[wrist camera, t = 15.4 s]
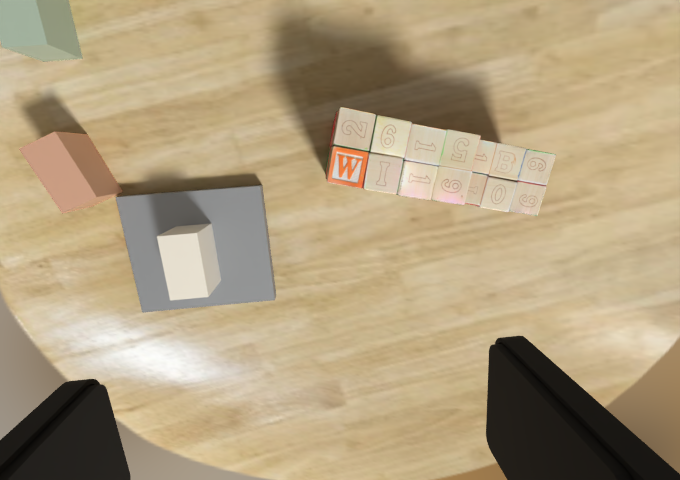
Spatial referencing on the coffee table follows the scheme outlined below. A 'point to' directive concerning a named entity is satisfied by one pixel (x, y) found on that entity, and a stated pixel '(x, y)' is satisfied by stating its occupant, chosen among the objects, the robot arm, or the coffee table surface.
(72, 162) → the terracotta brick
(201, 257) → the ivory brick
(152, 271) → the slate board
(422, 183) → the stack of blocks
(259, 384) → the coffee table surface
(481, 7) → the coffee table surface
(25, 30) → the sage brick
